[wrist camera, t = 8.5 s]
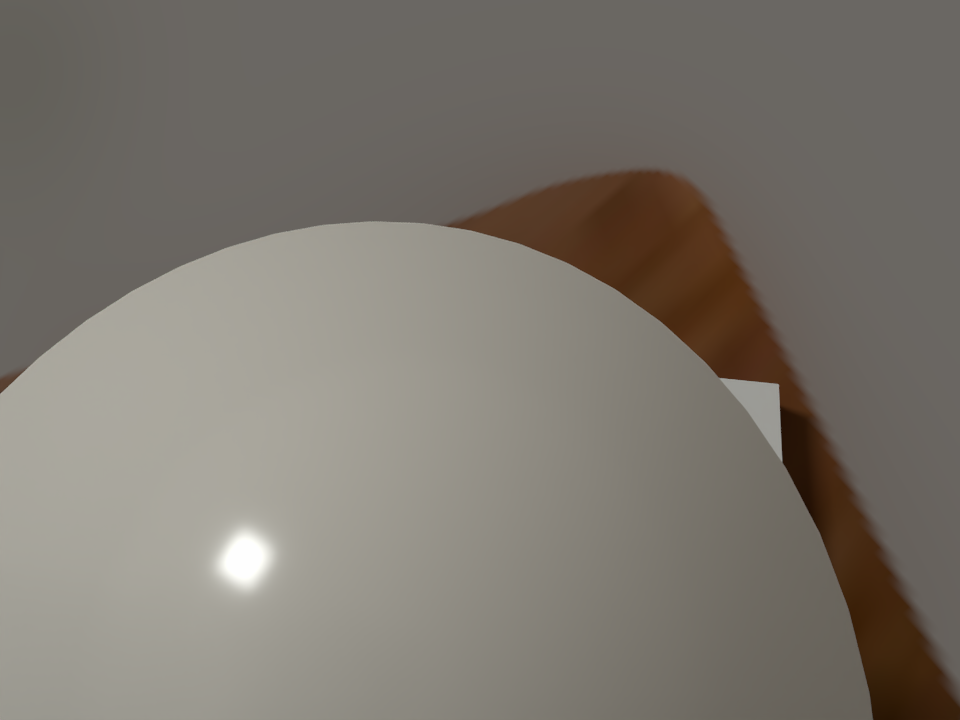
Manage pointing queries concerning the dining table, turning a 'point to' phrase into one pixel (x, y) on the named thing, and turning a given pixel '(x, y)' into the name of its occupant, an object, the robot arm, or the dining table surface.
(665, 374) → the grey rounded cylinder
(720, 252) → the dining table surface
